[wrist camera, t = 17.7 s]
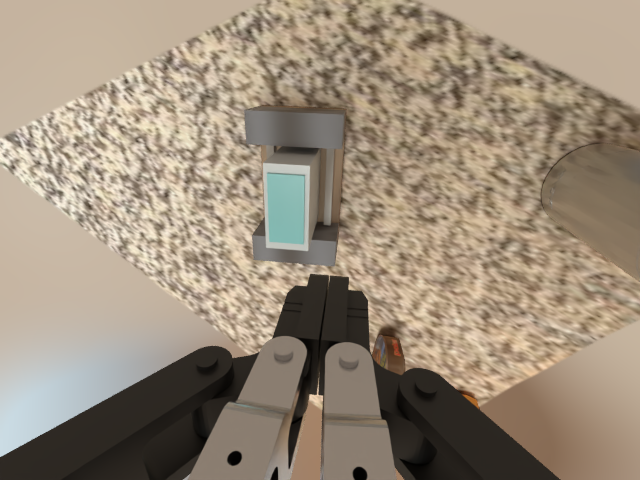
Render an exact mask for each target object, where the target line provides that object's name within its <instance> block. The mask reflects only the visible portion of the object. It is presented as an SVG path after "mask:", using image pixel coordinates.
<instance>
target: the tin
mask: <svg viewBox="0 0 640 480" xmlns="http://www.w3.org/2000/svg"><path fill="white" fill-rule="evenodd" d="M372 357H373V359H374V360H375V361H376V362H377V363H378V364H379V365H380V366H382V367H383V368H385V369H387V370H389V371H392V372H394V373H397V374H400V375H402V374H403V373H404V372H405V359H404V355H403V352H402V347H401V344H400V340H399V339H398V338H395V337H389V336H383V335H379V336H378V338H377V340H376V343H375V347H374V351H373V355H372Z"/></svg>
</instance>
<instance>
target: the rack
mask: <svg viewBox="0 0 640 480" xmlns="http://www.w3.org/2000/svg"><path fill="white" fill-rule="evenodd" d="M244 112H245V128H246V144H252V145H261V158H262V180H263V162H264V161H266V160H267V159H268V158H269V157H270V156H271V155H272V154H274V153H275V152H276V151H277V150H278V149H279V148H281V147H282V146H289V147H308V148H321V161H320V189H319V216H318V219H317V223H316V226H315V229H314V233H313V236H312V240H311V243H310V246H309V250H308V251H301V250H288V249H276V248H266V232H265V207H264V219H263V220H262V222H261V223H260V225H259V226H258V228H257V229H256V230H255V232H254V233H253V235H252V240H253V256H254V260H263V261H275V262H287V263H299V264H312V265H324V266H335V260H336V252H337V245H338V233H339V218H340V202H341V186H342V170H343V155H344V139H345V123H346V109H338V108H316V107H293V106H270V105H262V106H258V107H254V108H251V109H247V110H244ZM263 203H264V183H263Z"/></svg>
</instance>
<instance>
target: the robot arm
mask: <svg viewBox="0 0 640 480" xmlns="http://www.w3.org/2000/svg"><path fill="white" fill-rule="evenodd" d="M541 199H542V204H543V208H544V210H545V211H546V213H547V215H548V216H550V217H551V218H552V219H553V220H554V221H556V222H557V223H558V224H560V225H561V226H562V227H564V228H565V229H567V230H568V231H569V232H571V233H572V234H573V235H575V236H576V237H577V238H579V239H580V240H582V241H583V242H584V243H586V244H587V245H589V246H590V247H591V248H593V249H594V250H596V251H597V252H598V253H600V254H601V255H603V256H604V257H605V258H607V259H608V260H610V261H611V262H612V263H614V264H615V265H617V266H618V267H619V268H621V269H622V270H624V271H625V272H626V273H628V274H629V275H630V276H632V277H633V278H635V279H636V280H637V281H639V282H640V151H638V150H634V149H630V148H626V147H622V146H618V145H614V144H607V143H598V144H591V145H588V146H584V147H581V148H579V149H577V150H575V151H573V152H571V153H569V154H568V155H566V156H565V157H564V158H562V159H561V160H560V161H559V162H558V163H557V164H556V165H555V166H554V167H553V168H552V170H551V171H550V172H549V174H548V175H547V177H546V180H545V182H544V184H543V188H542V192H541ZM348 285H349V277H342V276H330V281H329V275H317V274H310V277H309V281H308V285H307V286H295V287H293V288H292V289H291V290H290V291H289V292H288V293H287V296H286V299H285V303H284V305H283V308H282V311H281V314H280V317H279V320H278V323H277V326H276V329H275V332H274V335H273V338H272V339H271V340H269V341H268V342H266V343H265V344H264V345H263V347H262V348H261V350H260V352H258V353H256V354H253V355H250V356H244V357H238V358H232V355H231V353H230V352H229V351H228V350H226V349H225V348H222V347H219V346H208V347H204V348H201V349H198V350H196V351H194V352H193V353H190V354H189V355H187V356H185V357H183V358H181V359H179V360H178V361H176V362H174V363H172V364H170V365H168V366H167V367H165V368H163V369H161V370H159V371H157V372H156V373H154V374H152V375H150V376H148V377H147V378H145V379H143V380H141V381H139V382H137V383H135V384H134V385H132V386H130V387H128V388H126V389H124V390H123V391H121V392H119V393H117V394H115V395H114V396H112V397H110V398H108V399H106V400H104V401H102V402H101V403H99V404H97V405H95V406H93V407H91V408H90V409H88V410H86V411H84V412H82V413H80V414H79V415H77V416H75V417H74V418H71V419H70V420H68V421H66V422H64V423H62V424H60V425H59V426H57V427H55V428H53V429H51V430H50V431H48V432H46V433H44V434H42V435H40V436H38V437H37V438H35V439H33V440H31V441H29V442H27V443H26V444H24V445H22V446H20V447H18V448H16V449H15V450H13V451H11V452H9V453H7V454H6V455H4V456H2V457H0V480H183V479H184V478H185V477H187V476H188V475H189V474H190V473H191V474H190V476H189V478H188V480H290V479H291V474H292V470H293V466H294V462H295V458H296V454H297V450H298V445H299V441H300V437H301V433H302V429H303V425H304V421H305V414H306V409H307V406H308V400H309V394H313V395H317V387H318V380H319V395H323V410H322V439H321V475H320V480H397V478H396V472H395V468H396V469H397V470H398V472H399V473H400V474H401V475H402V477H403V478H404V480H560V479H559V478H558V477H556V476H555V475H554V474H553V473H552V472H551V471H550V470H549V469H547V468H546V467H545V466H544V465H543V464H542V463H540V462H539V461H538V460H537V459H536V458H535V457H534V456H532V455H531V454H530V453H529V452H528V451H527V450H525V449H524V448H523V447H522V446H521V445H520V444H519V443H517V442H516V441H515V440H514V439H513V438H512V437H510V436H509V435H508V434H507V433H506V432H504V431H503V430H502V429H501V428H500V427H499V426H497V424H495V423H494V422H493V421H492V420H491V419H490V418H488V417H487V416H486V415H485V414H484V413H483V412H481V411H480V410H479V409H478V408H477V407H476V406H475V405H474V404H472V403H471V402H470V401H469V400H468V399H467V398H465V397H464V396H463V395H462V394H461V393H460V392H459V391H457V390H456V389H455V388H454V387H453V386H452V385H450V384H449V383H448V382H447V381H446V380H445V379H444V378H442V377H441V376H440V375H438V374H437V373H435V372H433V371H430V370H427V369H423V368H413V369H409V370H407V371H406V372H404V373H403V374H402V375H400V374H397V373H394V372H392V371H389V370H387V369H385V368H383V367H382V366H380V365H379V364H378V363H377V362H376V361H375V360H374V359H373V357H372V355H371V353H370V345H369V321H368V300H367V298H366V297H365V295H364V294H363V292H362V291H353V290H348ZM328 286H329V288H328ZM319 372H320V374H319Z"/></svg>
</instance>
